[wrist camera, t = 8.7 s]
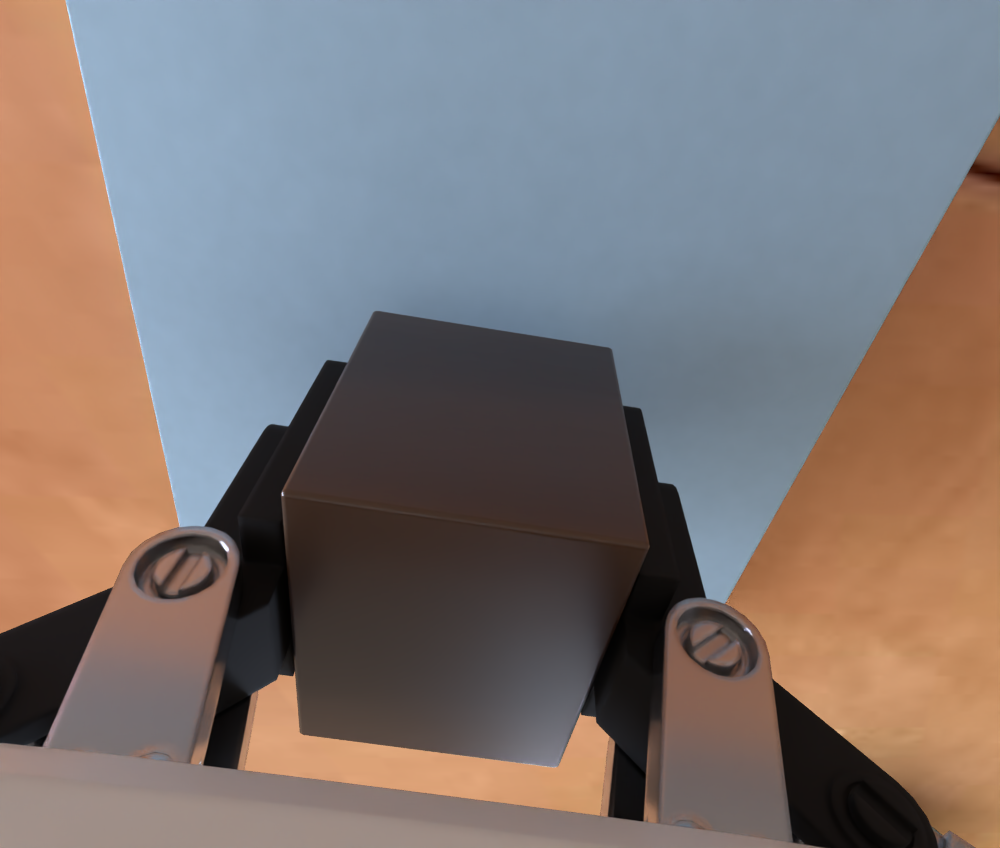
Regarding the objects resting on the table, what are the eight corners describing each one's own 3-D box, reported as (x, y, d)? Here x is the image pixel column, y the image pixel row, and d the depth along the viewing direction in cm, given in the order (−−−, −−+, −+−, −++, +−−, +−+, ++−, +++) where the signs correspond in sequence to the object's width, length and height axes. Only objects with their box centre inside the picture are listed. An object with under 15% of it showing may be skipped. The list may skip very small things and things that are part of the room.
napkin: (40, -194, 8) (19, -201, 8) (1049, -4, 9) (1068, -3, 8) (201, 589, 18) (195, 600, 17) (686, 657, 18) (688, 669, 18)
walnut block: (373, 308, 10) (277, 493, 6) (613, 346, 10) (652, 547, 7) (366, 524, 13) (298, 736, 9) (554, 551, 13) (558, 771, 10)
